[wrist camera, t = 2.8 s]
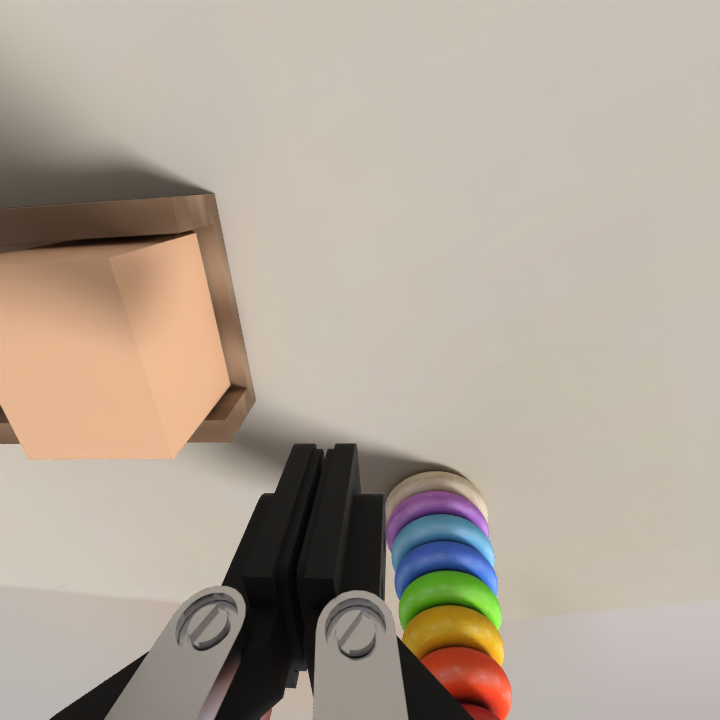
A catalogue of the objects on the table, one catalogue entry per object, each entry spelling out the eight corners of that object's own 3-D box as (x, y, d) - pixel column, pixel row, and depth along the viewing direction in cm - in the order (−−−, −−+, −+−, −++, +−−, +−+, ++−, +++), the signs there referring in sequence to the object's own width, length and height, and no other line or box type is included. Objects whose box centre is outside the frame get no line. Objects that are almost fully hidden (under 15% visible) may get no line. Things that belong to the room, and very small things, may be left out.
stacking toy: (495, 529, 33) (606, 913, 16) (402, 548, 34) (411, 912, 17) (471, 455, 30) (575, 827, 13) (370, 479, 31) (344, 837, 14)
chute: (-90, 214, 25) (-196, 223, 21) (214, 193, 23) (171, 197, 19) (6, 405, 31) (-60, 444, 26) (255, 400, 29) (230, 442, 25)
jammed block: (67, 240, 24) (-70, 267, 17) (196, 232, 23) (108, 258, 16) (120, 387, 28) (28, 459, 21) (230, 385, 27) (173, 458, 20)
